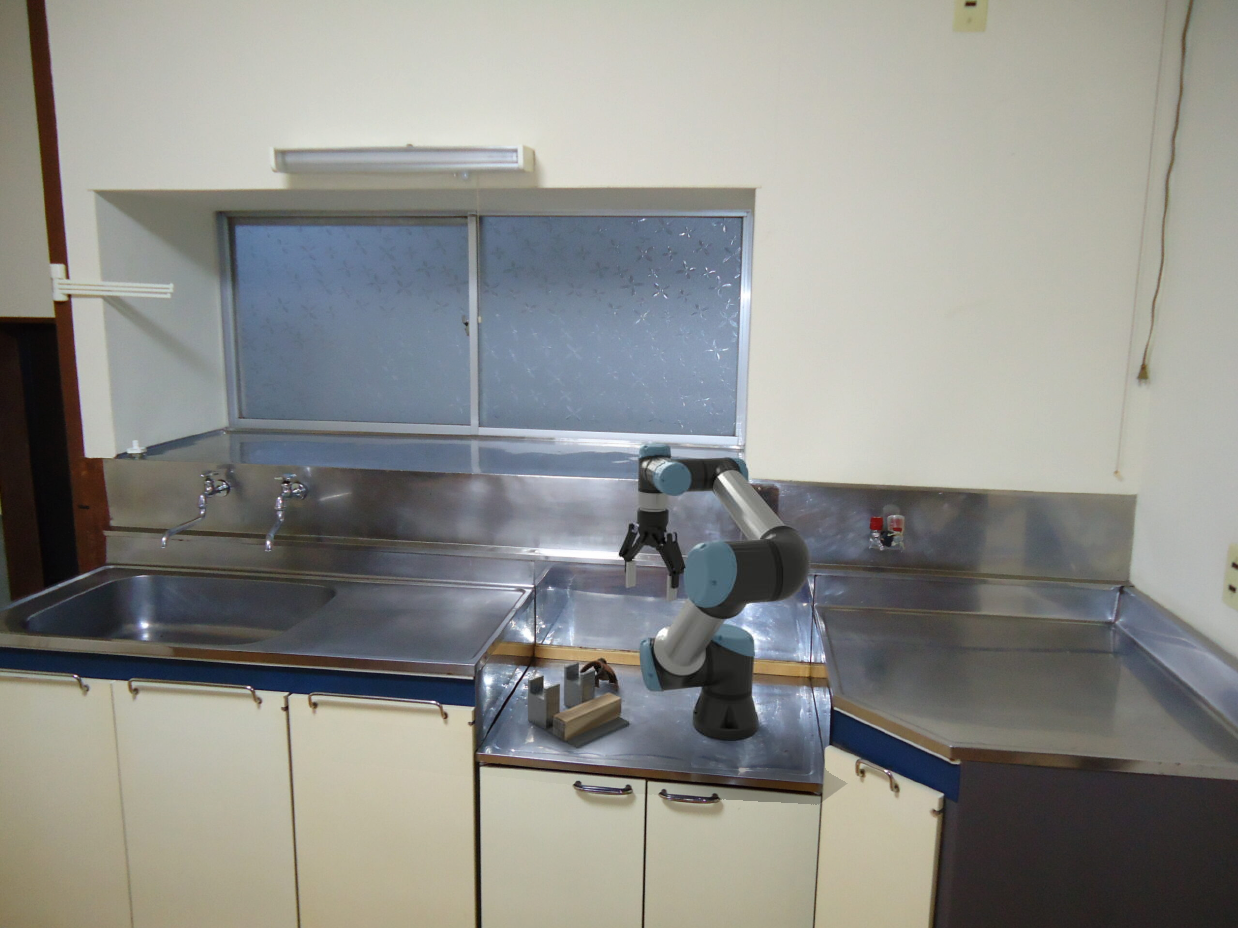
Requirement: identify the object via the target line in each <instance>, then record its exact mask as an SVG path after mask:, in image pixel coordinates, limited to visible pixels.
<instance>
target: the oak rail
mask: <svg viewBox="0 0 1238 928" xmlns="http://www.w3.org/2000/svg"><path fill="white" fill-rule="evenodd" d="M621 714H622V698H621V697H619V696H618V695H616V694H613V693H611V692H606V693H604V694H602V695H599V696H597V697H595V699H592V700H590V701H587V702H585V703H583V704H580V705H578V706H575V707H573V708H571V709H570V708H568V709H566V710H563V711H560V713H558V714H556V715H554V718H553V734H552V735H554V736H555V735H556V736H555V737H557V738H560V739H561V740H562V739H563V741H564V740H565V741H564V742H566V740H569V739H571V738H573V737H575V736H578V735H580V734H582V733H584V732H586V731H589V730H591V729H593V728H595V727H598V726H600V725H602V724H604V723H606V722H609V721H611V720H613V719H615V718H618V717H621Z"/></svg>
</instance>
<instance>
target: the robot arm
mask: <svg viewBox="0 0 1238 928" xmlns="http://www.w3.org/2000/svg"><path fill="white" fill-rule="evenodd" d="M671 450H672V448H671V447H670V445H668V444H665V443H660V442H659V443H658V442H647V443H642V444H641V445H640V447H639V451H638V457H637V461H638V475H637V479H638V480H637V481H638V482H637V486H638V487H637V503H636V504H637V507H638V508H637V510H636V511H637V512H636V522H635V521H634V522H631V523H629V524H628V528H627V533H626V536H625V538H624V539H623V543H622V545H621V546H620V550H619V552H618V556H619V557H620V558H622V559H623V561H624V573H625V588H627V589H629V588H632V587H636V585H637V584H636V580H637V575H636V574H637V560H636V556H637V555H638V554H639V552H640V551H641V550H642V549H643V547H646V546H647V547H648V546H649V547H651V548H654V549H655V550H656V551H657V552H658V553H659V554H660V557H661V559H662V561H663V562H664V565H665V566H666V567H665V568H666V569H667V572H669V573H668V574H666V575H667V576H666V582H667V583H666V602H667V603H670V602H674V601H676V600H677V591H678V590H677V589H678V588H679V585H680V575H682V574H683V585H684V586H683V587H684V589H685V593H686V595H687V598H686V600H685V601H684V603H683V605H682V606H681V608H680V610H679V611H678V613H677V614H676V617H674V619H673V621H672V623H671V624H670V625H668V626H665V627H663V628H662V629H661V630H660V631H659V632H658V634H657V635H656V636H655V637H648V636H647V638H643V639H641V641H640V643H639V648H638V652H639V653H638V655H639V665H640V670H641V675H642V679H643V684H644V685H645V687H646V689H647V690H648V691H650V692H664V691H673V690H674V691H675V690H682V689H690V688H691V689H692V688H693V689H694V688H701V689H700V693H699V695H698V698H697V701H696V703H695V706H694V709H693V711H692V721H691V722H692V725H693V727H694V728H695V730H697V731H698V732H699V733H701V734H703V735H705V736H707V737H709V738H710V737H711V738H714V739H718V740H725V741H726V740H727V741H737V740H743V739H747V738H750V737H752V736H753V735H755V734H756V733H757V732H758V728H759V715H758V712H757V710H756V706H755V701H754V697H753V685H754V684H753V683H754V668H755V667H754V666H755V657H756V652H755V650H756V649H755V639H754V636H753V635H752V634H751V633H750V632H749V631H748V630H746V629H744V628H742V627H740V626H736V625H733V624H730V623H725V622H726V620H729V619H733V618H735V617H737V616H738V615H740V614H741V612H742V611H743V610H744V609H745V608H746V607H747V605H749V604H758V603H760V604H761V603H772V602H779V601H781V602H782V601H784V600H787V599H789V598H790V597H793V596H794V595H796V594H797V593H798V592H799V591H800V590H801V589H802V588H803V587H804V585H805V583H806V582H807V580H808V577H809V576H810V571H811V563H812V562H811V553H810V550H809V548H808V545H807V543H806V540H804V538H803V536H801V534H800V533H799V532H798V530H796V529H795V528H794V527H792V526H790V525H787V524H785V523H784V522H783V521H782V520H781V519H780V518H779V517H778V516H777V514H776V513H775V512H774V510H773V509H772V508H771V507H770V506H769V505H768V504H767V502H766V501H765V500H764V499H763V498H762V497H761V495H760V494H759V493H758V492H757V491H756V489H755V488H754V487H753V486H752V485H751V484H750V482H749V476H750V475H749V469H748V467H747V463H746V462H745V460H744V459H742V458H741V457H730V456H729V457H728V456H726V457H725V456H724V457H714V458H713V457H711V458H707V457H706V458H672V451H671ZM691 492H692V493H693V492H694V493H695V492H696V493H697V492H698V493H699V492H713V494H714V495H715V496H716V497H717V499H718V500H719V501H720V503H721V504H722V506H723V507H724V508H725V510H726V511H727V512H728V514H729V516H731V518H732V520H734V523H736V525H737V526H738V528H739V529H740V530H741V532H742V533H743V534H744V535H745V537H746V538H747V539H741V540H717V539H716V540H710V541H707V542H706V541H705V542H701V543H700V542H699V543H697V544H696V545H694V546H693V547H692V548H691V549H690V551H689V552H688V554H687V556H686V559H685V561H684V558H683V554H682V551H681V548H680V545H679V542H678V533H677V532H676V531H672V532H668V531H667V530H668V529H667V526H668V524H669V518H670V517H669V515H670V514H669V513H670V512H669V507H670V496H671V497H678V496H682V495H683V494H684V493H691ZM638 535H639V536H638ZM637 536H638V537H637Z"/></svg>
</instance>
